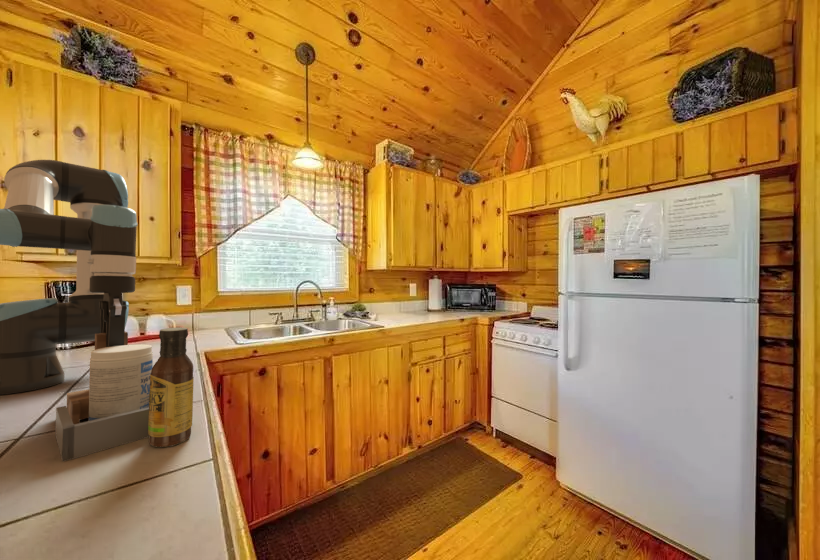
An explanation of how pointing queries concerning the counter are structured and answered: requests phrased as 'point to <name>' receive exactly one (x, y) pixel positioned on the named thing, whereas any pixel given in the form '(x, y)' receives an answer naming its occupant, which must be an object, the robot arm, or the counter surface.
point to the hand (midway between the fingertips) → (110, 380)
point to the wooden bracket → (80, 399)
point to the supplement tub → (119, 380)
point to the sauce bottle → (171, 391)
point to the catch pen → (98, 432)
